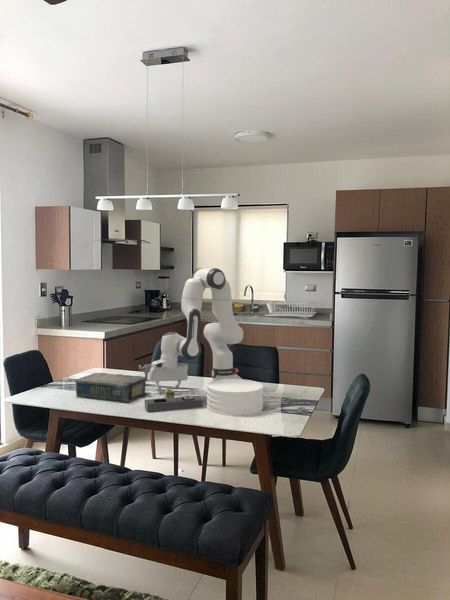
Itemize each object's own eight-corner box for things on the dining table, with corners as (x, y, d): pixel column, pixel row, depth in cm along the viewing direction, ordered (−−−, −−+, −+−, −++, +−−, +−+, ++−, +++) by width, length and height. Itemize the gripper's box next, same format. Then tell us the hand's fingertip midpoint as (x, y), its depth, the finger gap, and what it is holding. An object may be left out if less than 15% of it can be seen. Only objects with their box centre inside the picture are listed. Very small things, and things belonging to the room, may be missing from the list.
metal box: (126, 404, 249) (126, 384, 249) (74, 397, 260) (74, 379, 260) (147, 394, 269) (147, 376, 268) (97, 388, 280) (97, 371, 280)
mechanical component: (137, 380, 300) (137, 364, 299) (154, 379, 303) (154, 363, 303) (138, 381, 297) (138, 365, 297) (155, 380, 300) (155, 364, 300)
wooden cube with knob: (172, 398, 260) (172, 389, 260) (174, 400, 256) (174, 390, 255) (164, 399, 258) (164, 389, 258) (166, 401, 254) (166, 391, 254)
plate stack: (230, 397, 264) (230, 376, 264) (273, 406, 247) (273, 384, 246) (195, 408, 243) (195, 385, 242) (239, 419, 225) (240, 395, 224)
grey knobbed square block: (190, 405, 248) (190, 395, 247) (193, 407, 244) (193, 397, 243) (182, 405, 246) (182, 395, 246) (184, 408, 242) (184, 397, 242)
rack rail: (198, 403, 251) (198, 395, 251) (203, 407, 243) (203, 399, 243) (144, 407, 242) (144, 399, 242) (147, 412, 234) (147, 403, 234)
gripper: (186, 361, 262) (185, 387, 263) (148, 362, 255) (148, 388, 256) (189, 363, 256) (189, 389, 257) (151, 364, 249) (150, 391, 250)
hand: (168, 389), depth 256 cm, fingers open, 8 cm apart
